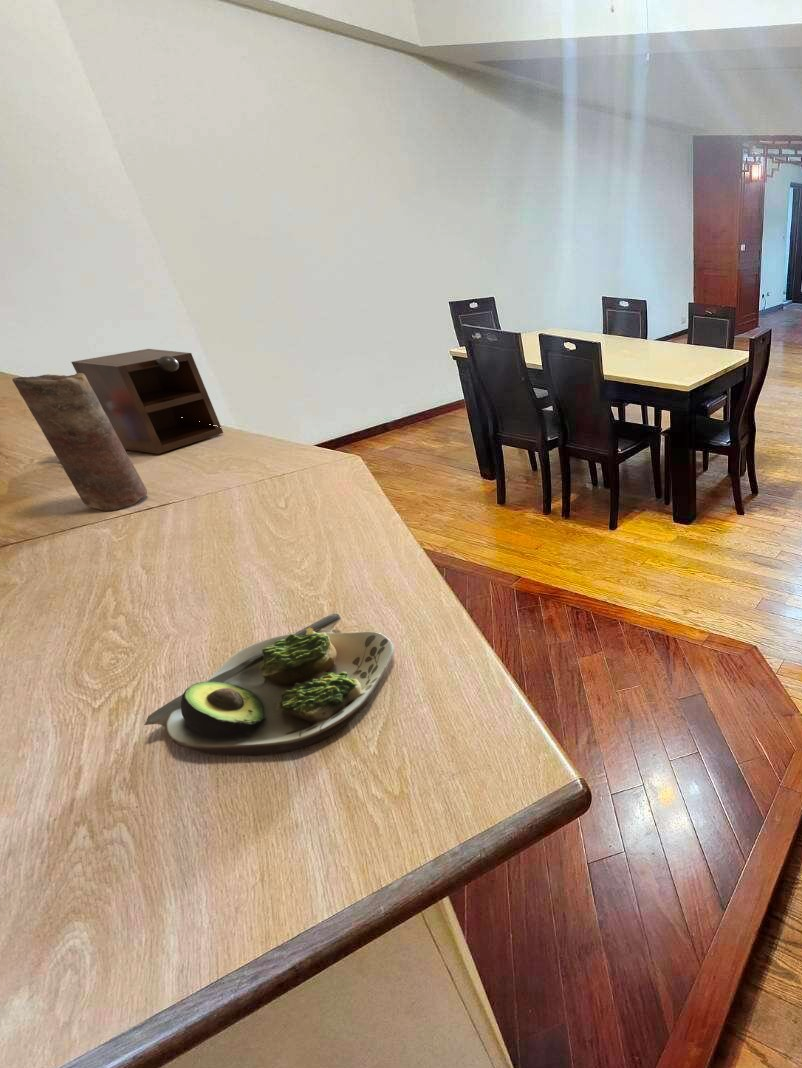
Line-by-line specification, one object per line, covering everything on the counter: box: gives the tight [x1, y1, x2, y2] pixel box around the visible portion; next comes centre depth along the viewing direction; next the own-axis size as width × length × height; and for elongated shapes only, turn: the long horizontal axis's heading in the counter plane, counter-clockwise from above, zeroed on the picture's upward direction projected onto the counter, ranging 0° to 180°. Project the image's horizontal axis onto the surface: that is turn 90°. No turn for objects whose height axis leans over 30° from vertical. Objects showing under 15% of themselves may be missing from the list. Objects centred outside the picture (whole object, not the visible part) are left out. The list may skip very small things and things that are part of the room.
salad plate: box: [143, 613, 396, 757], centre depth 59 cm, size 19×18×5 cm
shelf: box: [70, 348, 224, 455], centre depth 112 cm, size 17×13×14 cm
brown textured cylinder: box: [12, 373, 148, 512], centre depth 88 cm, size 8×7×20 cm
